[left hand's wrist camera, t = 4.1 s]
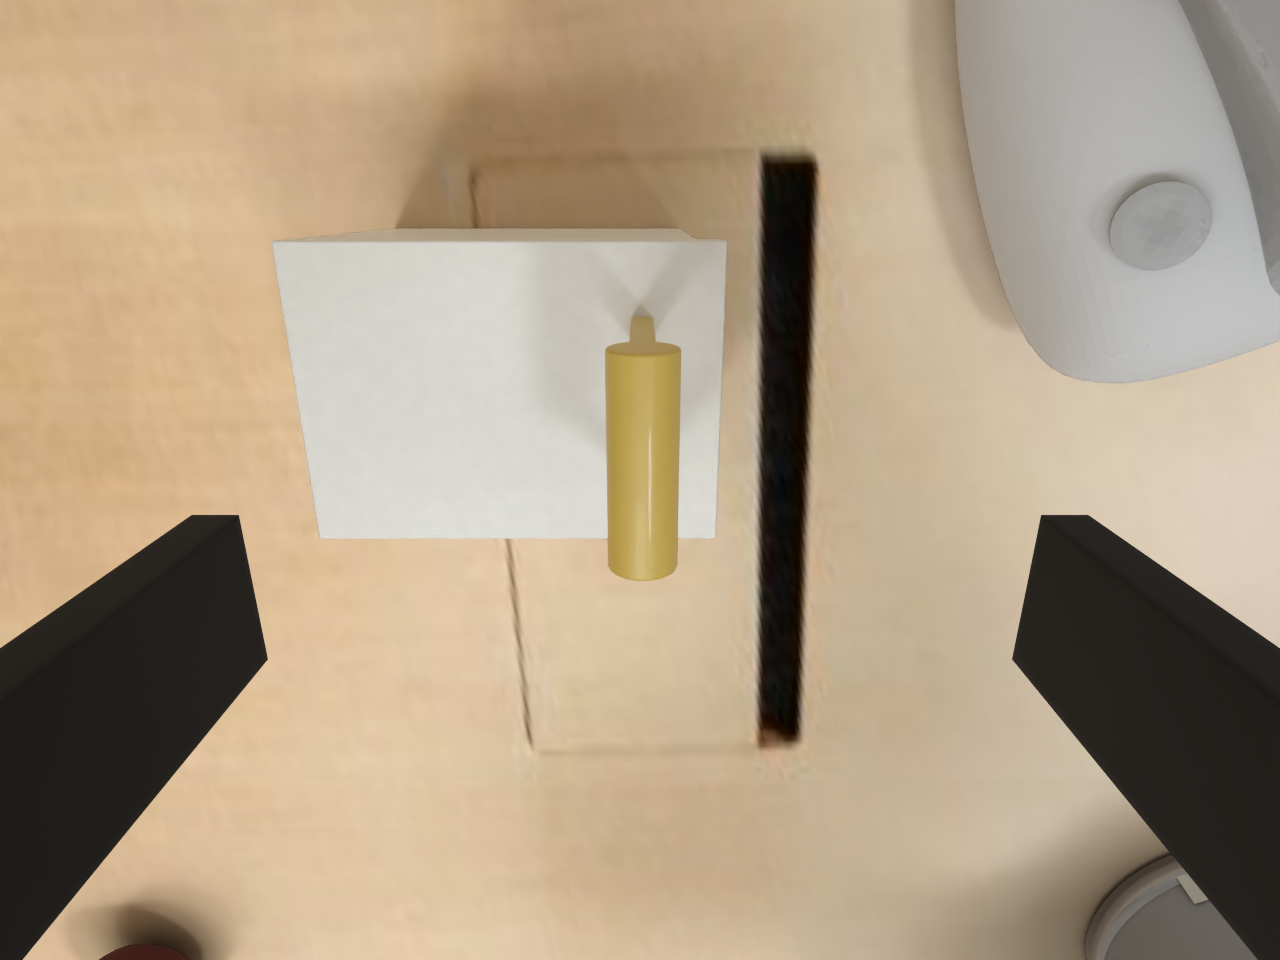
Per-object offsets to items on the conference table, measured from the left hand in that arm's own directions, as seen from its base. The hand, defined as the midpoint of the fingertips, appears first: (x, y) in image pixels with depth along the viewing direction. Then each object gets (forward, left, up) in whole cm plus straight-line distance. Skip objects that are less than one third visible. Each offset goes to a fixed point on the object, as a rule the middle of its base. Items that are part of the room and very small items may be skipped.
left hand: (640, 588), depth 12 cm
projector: (-10, -20, -25) cm, 34 cm away
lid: (+4, +2, -14) cm, 14 cm away
